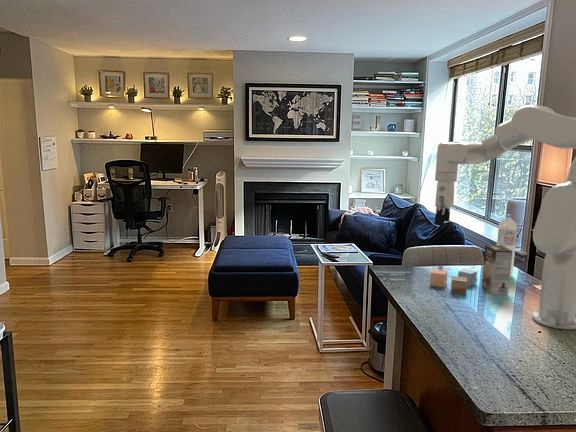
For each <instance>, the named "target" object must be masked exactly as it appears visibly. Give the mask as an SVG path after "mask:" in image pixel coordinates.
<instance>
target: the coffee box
mask: <svg viewBox="0 0 576 432" xmlns="http://www.w3.org/2000/svg"><path fill="white" fill-rule="evenodd" d="M512 252H513V251H511V250H509V249H508V248H506V247H504V246H502V245H497V244H485V245H484V253H483V255H484V256H483V266H482V276H481V277H482V278H481V287H482V288H483V289H485V291H487V292H488V294H489V293H490V294H491V295H509V290H510V289H509V287H510V278H511V277H510V270H511V261H512Z"/></svg>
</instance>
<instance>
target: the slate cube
mask: <svg viewBox="0 0 576 432" xmlns="http://www.w3.org/2000/svg"><path fill="white" fill-rule="evenodd" d="M477 273H478V271H477V270H473V269H469V268H463V269H460V270H458V271H457V277H465V278H467V287H470V286H471V287H472V286H475V285H476V284H477V275H478V274H477ZM475 283H476V284H475Z"/></svg>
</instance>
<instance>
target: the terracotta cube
mask: <svg viewBox="0 0 576 432" xmlns="http://www.w3.org/2000/svg"><path fill="white" fill-rule="evenodd" d="M447 283H448V271H447V270H440V269H435V268H434V269H433V270H432V271H431V272H430V284H429V285H430V286H433V287H439V288H445V287H446V285H447Z"/></svg>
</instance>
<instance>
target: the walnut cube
mask: <svg viewBox="0 0 576 432" xmlns="http://www.w3.org/2000/svg"><path fill="white" fill-rule="evenodd" d="M467 287H468V286H467V278H465V277H458V276H454V275H452V276H451V284H450V293H451V294H455V295H463V296H466V295H467V291H468V290H467Z"/></svg>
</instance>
